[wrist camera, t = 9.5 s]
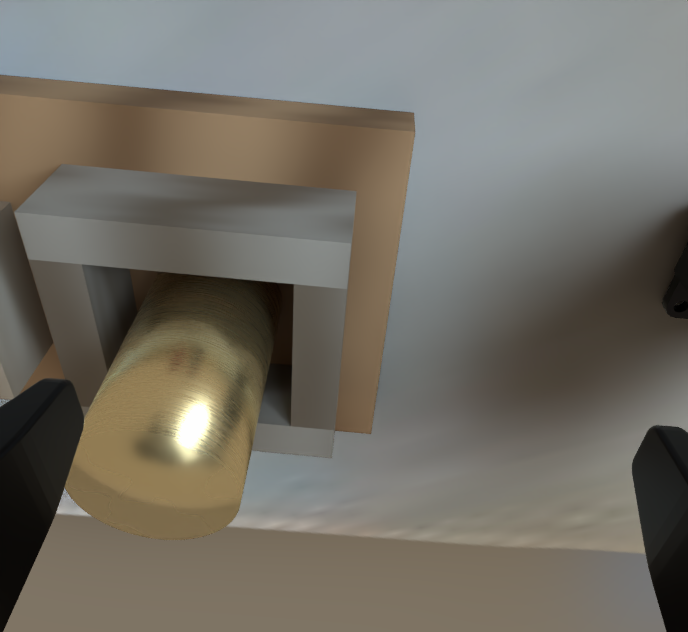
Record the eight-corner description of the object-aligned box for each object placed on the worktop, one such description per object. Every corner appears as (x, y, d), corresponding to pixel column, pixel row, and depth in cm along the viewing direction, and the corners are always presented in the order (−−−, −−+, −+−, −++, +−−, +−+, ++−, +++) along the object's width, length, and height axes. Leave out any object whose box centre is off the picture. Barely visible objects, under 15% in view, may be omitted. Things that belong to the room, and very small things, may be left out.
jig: (413, 112, 18) (418, 179, 15) (371, 407, 27) (368, 495, 23) (-177, 58, 18) (-310, 112, 15) (-39, 368, 27) (-104, 450, 23)
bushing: (281, 248, 20) (235, 439, 14) (282, 348, 23) (244, 545, 16) (147, 238, 20) (41, 424, 14) (164, 339, 23) (81, 533, 16)
